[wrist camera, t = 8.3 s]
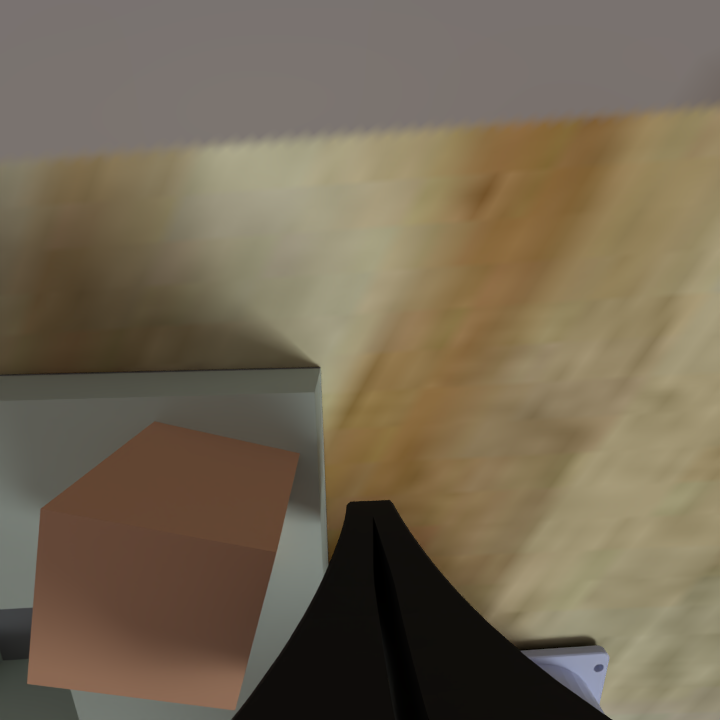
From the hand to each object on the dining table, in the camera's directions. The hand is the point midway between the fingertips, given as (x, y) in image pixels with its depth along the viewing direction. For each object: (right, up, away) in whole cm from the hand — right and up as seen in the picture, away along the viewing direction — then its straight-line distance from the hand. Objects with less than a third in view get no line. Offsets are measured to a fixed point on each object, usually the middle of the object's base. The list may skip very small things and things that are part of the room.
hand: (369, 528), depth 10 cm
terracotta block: (-5, +1, +1) cm, 5 cm away
